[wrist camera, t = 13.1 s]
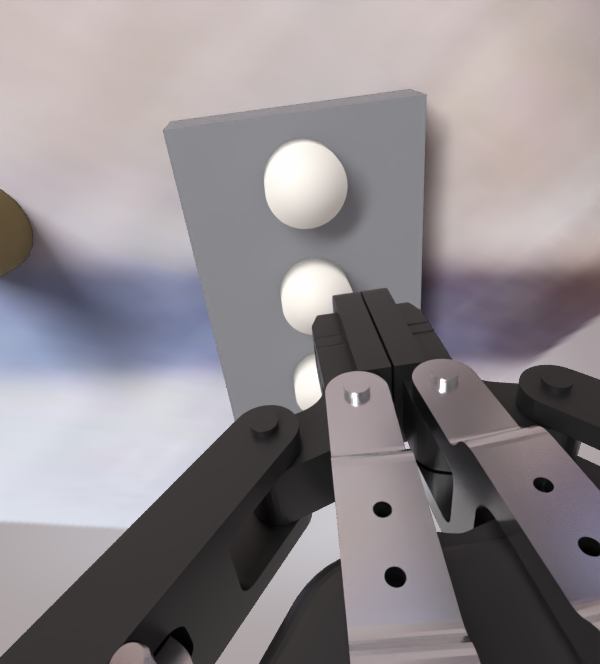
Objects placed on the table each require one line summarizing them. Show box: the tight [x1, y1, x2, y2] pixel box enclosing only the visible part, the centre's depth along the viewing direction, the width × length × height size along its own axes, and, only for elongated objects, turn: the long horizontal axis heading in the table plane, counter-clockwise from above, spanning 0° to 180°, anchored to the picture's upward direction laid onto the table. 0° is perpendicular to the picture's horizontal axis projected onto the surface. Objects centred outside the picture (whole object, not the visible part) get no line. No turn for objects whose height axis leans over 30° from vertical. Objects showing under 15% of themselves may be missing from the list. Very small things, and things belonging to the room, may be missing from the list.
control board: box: [163, 89, 427, 421], centre depth 32 cm, size 21×14×3 cm, turn 7°
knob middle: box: [280, 258, 353, 335], centre depth 31 cm, size 4×4×5 cm
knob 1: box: [264, 138, 348, 229], centre depth 27 cm, size 4×4×5 cm
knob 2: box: [293, 352, 322, 411], centre depth 35 cm, size 4×4×5 cm
